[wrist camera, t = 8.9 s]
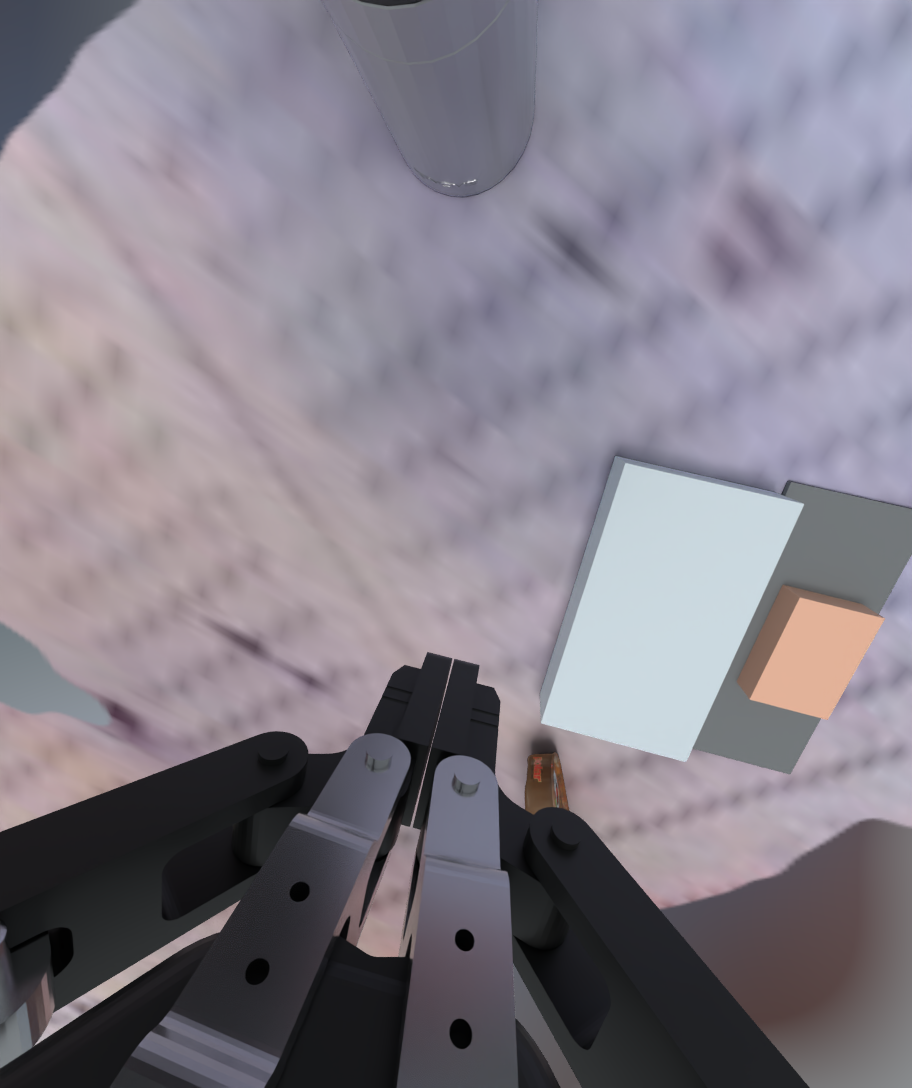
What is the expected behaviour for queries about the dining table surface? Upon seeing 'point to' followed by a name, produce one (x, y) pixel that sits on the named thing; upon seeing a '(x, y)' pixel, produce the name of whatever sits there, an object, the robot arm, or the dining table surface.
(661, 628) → the plate
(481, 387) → the dining table surface
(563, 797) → the tin
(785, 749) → the mat
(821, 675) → the peach rectangular block
